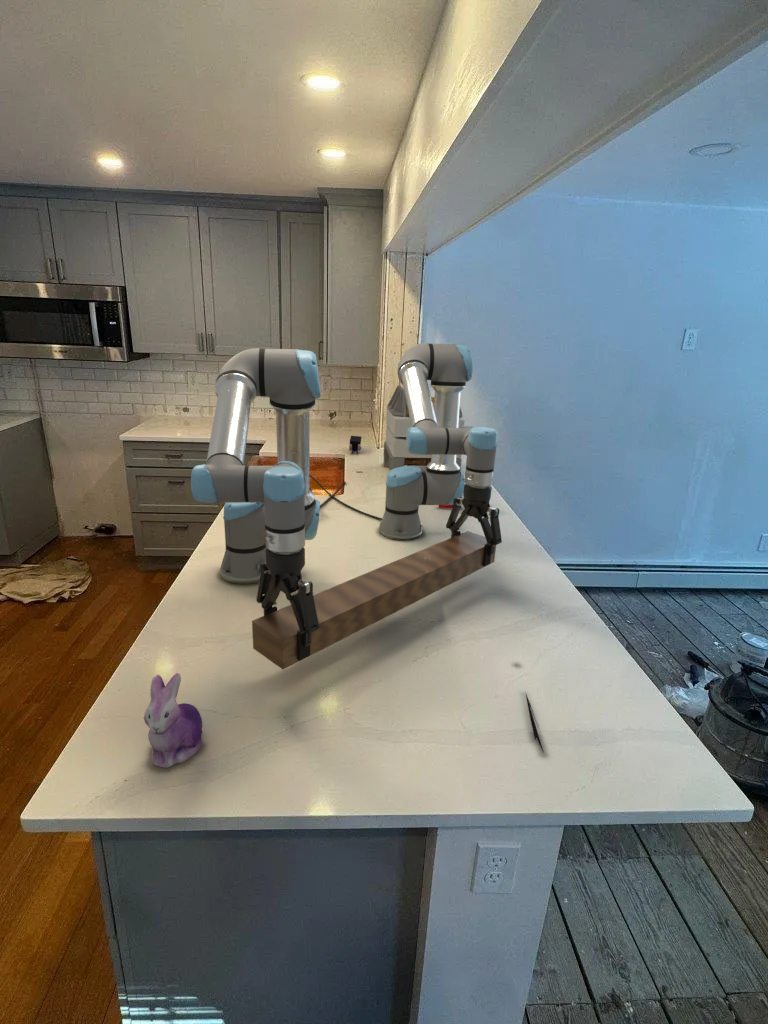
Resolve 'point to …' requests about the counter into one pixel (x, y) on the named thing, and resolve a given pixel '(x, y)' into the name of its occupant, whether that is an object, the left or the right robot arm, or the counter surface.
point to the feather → (534, 723)
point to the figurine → (171, 724)
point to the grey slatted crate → (404, 434)
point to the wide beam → (370, 597)
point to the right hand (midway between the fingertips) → (470, 558)
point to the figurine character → (355, 444)
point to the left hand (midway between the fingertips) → (287, 646)
